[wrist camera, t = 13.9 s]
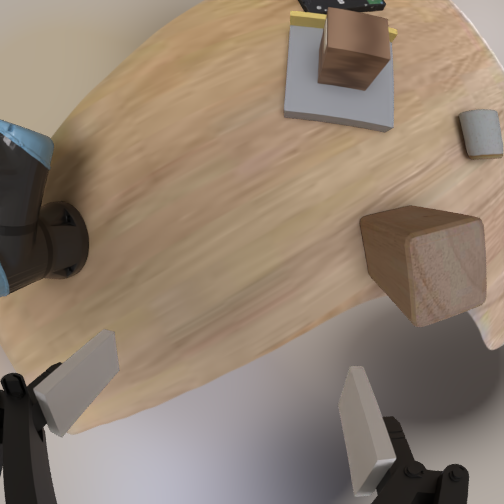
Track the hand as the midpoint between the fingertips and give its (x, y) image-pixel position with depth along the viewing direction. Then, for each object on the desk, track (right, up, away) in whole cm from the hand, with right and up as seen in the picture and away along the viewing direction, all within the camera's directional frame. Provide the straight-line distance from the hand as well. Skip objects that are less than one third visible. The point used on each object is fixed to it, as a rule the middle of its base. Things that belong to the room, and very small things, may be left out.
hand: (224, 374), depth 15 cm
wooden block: (+24, +8, +29) cm, 38 cm away
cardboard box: (+14, +33, +21) cm, 41 cm away
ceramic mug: (+41, +27, +23) cm, 54 cm away
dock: (+15, +34, +25) cm, 44 cm away
